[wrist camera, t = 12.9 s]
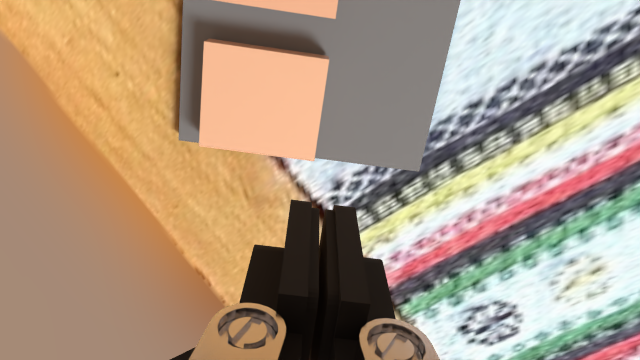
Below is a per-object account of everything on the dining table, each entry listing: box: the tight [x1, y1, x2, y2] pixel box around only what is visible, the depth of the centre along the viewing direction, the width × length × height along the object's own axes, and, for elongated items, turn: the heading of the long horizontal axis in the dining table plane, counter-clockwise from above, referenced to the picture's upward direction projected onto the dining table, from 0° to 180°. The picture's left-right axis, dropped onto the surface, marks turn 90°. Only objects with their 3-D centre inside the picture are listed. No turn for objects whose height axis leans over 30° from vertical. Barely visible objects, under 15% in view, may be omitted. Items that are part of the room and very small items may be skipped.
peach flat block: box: [199, 39, 329, 161], centre depth 32 cm, size 2×7×8 cm
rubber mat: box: [179, 0, 460, 171], centre depth 31 cm, size 18×18×1 cm
